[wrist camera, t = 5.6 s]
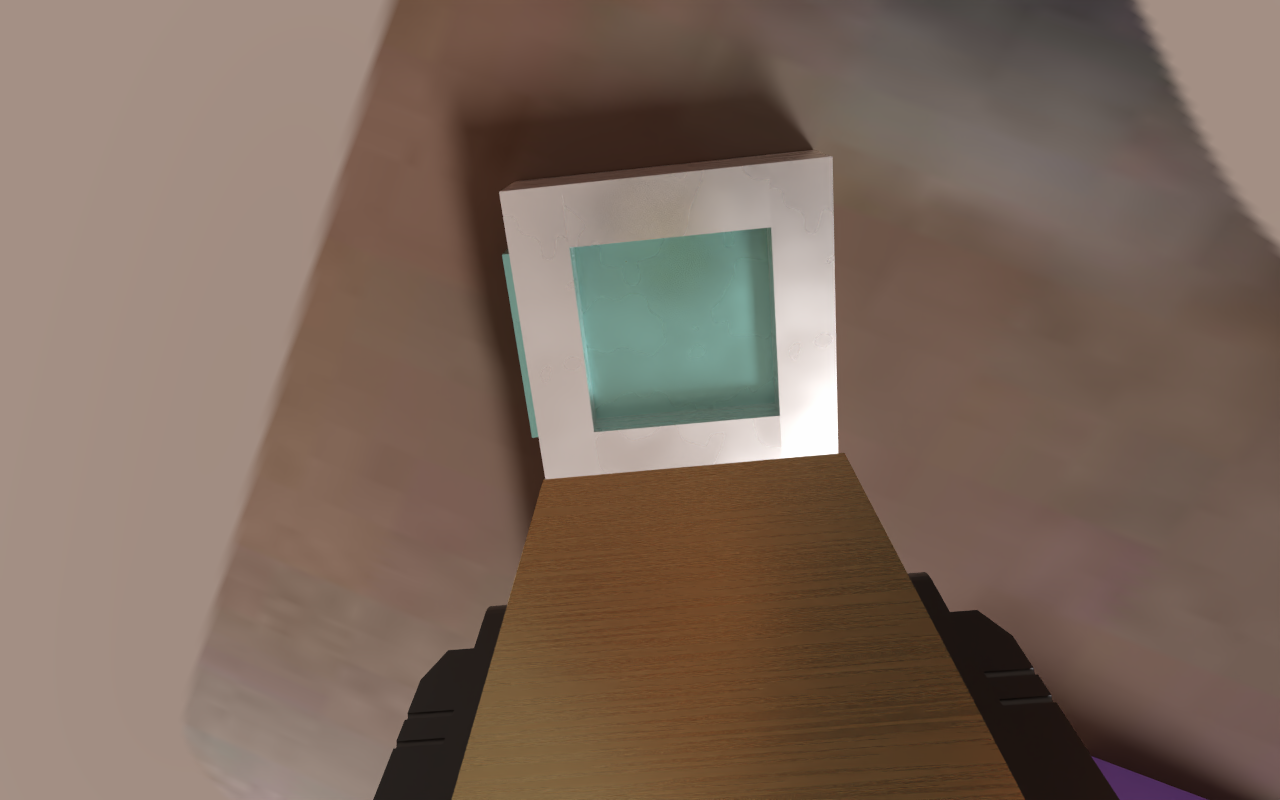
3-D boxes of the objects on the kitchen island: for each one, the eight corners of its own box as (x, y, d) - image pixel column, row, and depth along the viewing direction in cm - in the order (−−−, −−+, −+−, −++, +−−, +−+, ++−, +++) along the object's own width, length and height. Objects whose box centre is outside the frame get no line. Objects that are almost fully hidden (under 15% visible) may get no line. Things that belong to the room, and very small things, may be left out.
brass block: (844, 453, 11) (1144, 1028, 4) (848, 696, 12) (1077, 1412, 6) (542, 479, 11) (374, 1065, 4) (582, 716, 12) (499, 1429, 6)
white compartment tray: (813, 149, 24) (832, 156, 22) (831, 809, 33) (846, 867, 31) (508, 182, 25) (491, 192, 22) (608, 823, 34) (605, 882, 31)
